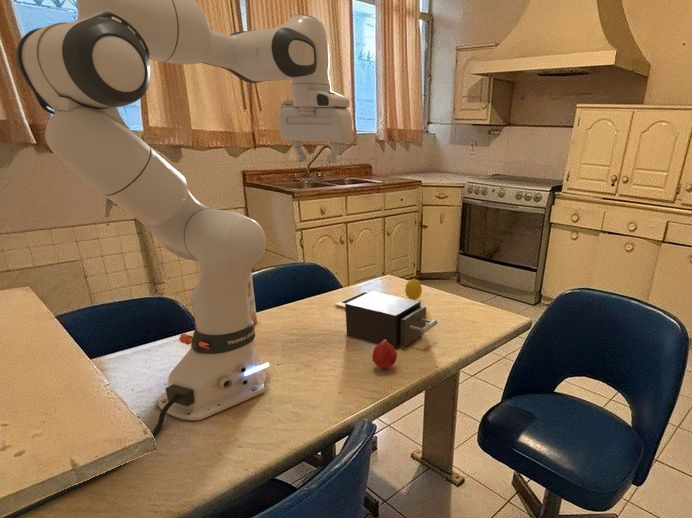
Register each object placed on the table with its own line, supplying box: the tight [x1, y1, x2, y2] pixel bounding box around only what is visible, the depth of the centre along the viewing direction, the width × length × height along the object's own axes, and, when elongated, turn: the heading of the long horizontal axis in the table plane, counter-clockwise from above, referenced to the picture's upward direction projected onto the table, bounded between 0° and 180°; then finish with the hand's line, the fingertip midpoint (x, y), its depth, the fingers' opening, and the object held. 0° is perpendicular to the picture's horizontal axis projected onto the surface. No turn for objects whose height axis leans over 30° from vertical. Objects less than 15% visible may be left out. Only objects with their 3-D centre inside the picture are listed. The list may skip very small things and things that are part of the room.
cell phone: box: [335, 290, 370, 309], centre depth 154 cm, size 8×16×1 cm, turn 148°
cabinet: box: [344, 290, 421, 350], centre depth 128 cm, size 17×13×10 cm
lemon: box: [404, 277, 423, 301], centre depth 154 cm, size 6×6×8 cm
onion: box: [371, 340, 398, 371], centre depth 109 cm, size 6×6×8 cm
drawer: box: [397, 305, 439, 348], centre depth 125 cm, size 20×11×8 cm, turn 60°
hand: (316, 162), depth 111 cm, fingers open, 8 cm apart
